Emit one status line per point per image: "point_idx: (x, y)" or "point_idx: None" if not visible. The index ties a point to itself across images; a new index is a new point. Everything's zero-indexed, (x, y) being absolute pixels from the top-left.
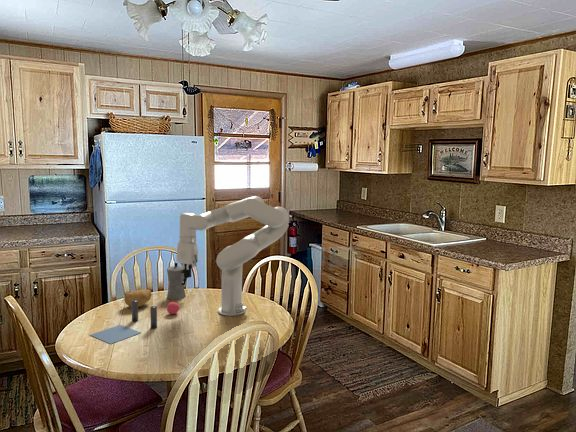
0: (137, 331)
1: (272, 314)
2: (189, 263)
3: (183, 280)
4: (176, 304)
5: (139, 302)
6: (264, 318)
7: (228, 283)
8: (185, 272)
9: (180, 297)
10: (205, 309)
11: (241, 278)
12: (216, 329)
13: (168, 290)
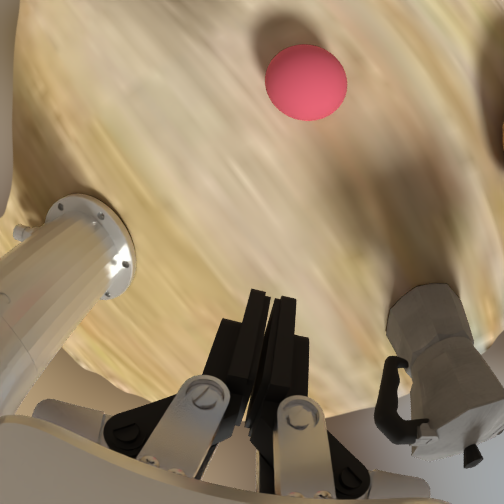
0: None
1: None
2: (12, 429)
3: (397, 377)
4: (276, 81)
5: None
6: (2, 236)
7: None
8: (255, 342)
9: (397, 307)
10: (190, 223)
11: None
12: (31, 64)
13: (465, 319)
